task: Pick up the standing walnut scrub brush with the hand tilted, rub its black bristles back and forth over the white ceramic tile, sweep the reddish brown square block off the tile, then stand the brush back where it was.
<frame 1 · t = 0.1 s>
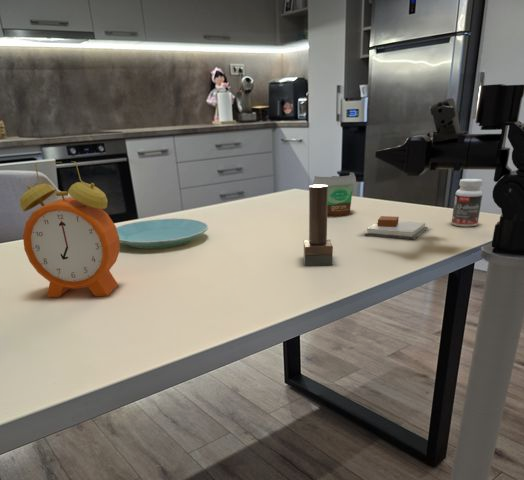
hand: (383, 151, 91), 18 cm above the table, tool horizontal, fingers open, 9 cm apart
pill bottle: (464, 225, 112), on the table
tile: (396, 232, 107), on the table
alarm clock: (83, 292, 79), on the table
plate: (160, 241, 109), on the table
food container: (338, 215, 128), on the table
reddish brown square block: (387, 224, 108), point 1 cm above the table, touching tile
brush: (317, 261, 89), on the table
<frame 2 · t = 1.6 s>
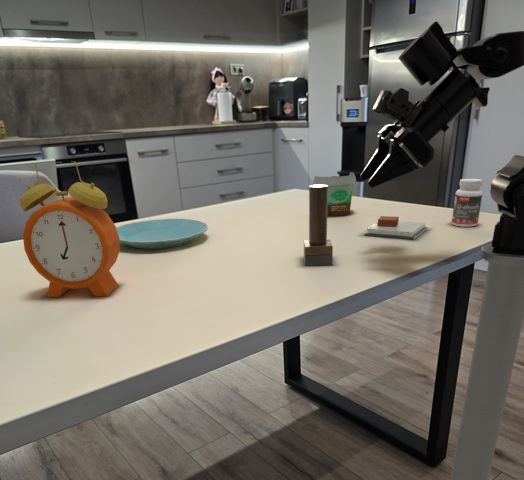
hand: (365, 181, 83), 14 cm above the table, tool tilted 45°, fingers open, 9 cm apart
nothing on the table moved.
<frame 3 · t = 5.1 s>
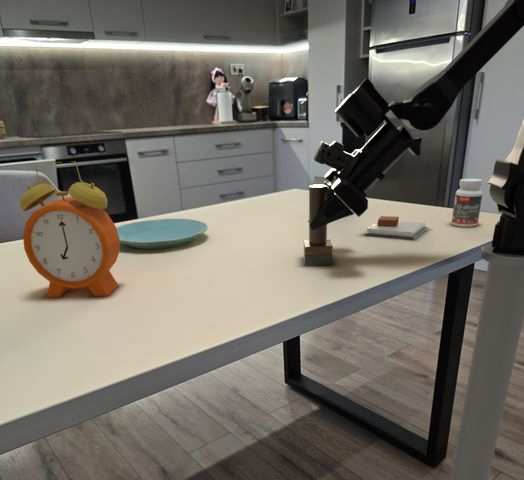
hand: (310, 225, 86), 7 cm above the table, tool tilted 45°, fingers closed on brush, 3 cm apart
brush: (317, 261, 89), on the table, touching gripper
everything else where it was.
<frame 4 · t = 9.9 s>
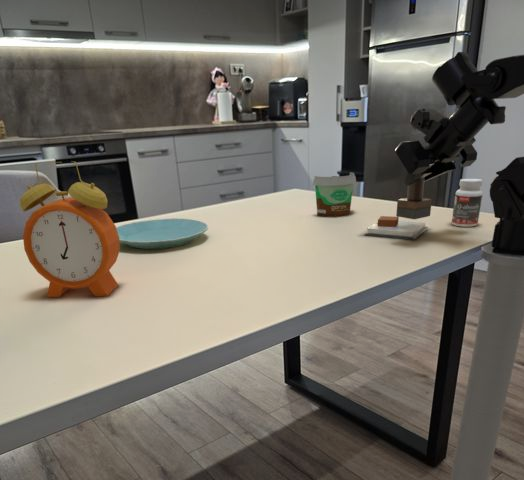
hand: (411, 183, 101), 11 cm above the table, tool tilted 45°, fingers closed on brush, 3 cm apart
brush: (413, 216, 103), point 4 cm above the table, touching gripper
everything else where it was.
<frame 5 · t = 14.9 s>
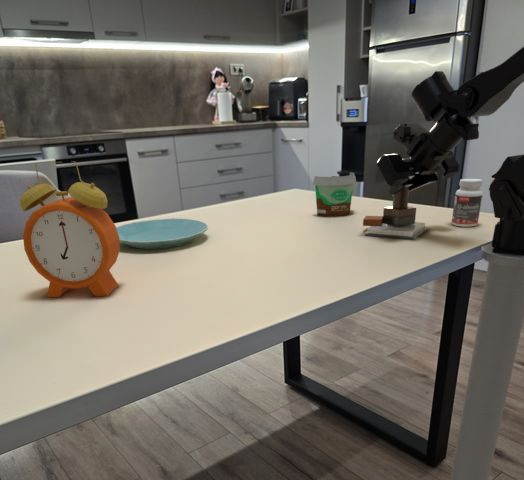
hand: (396, 192, 106), 8 cm above the table, tool tilted 45°, fingers closed on brush, 3 cm apart
reddish brown square block: (373, 224, 109), point 2 cm above the table, touching tile
brush: (398, 223, 108), point 2 cm above the table, touching gripper
everything else where it was.
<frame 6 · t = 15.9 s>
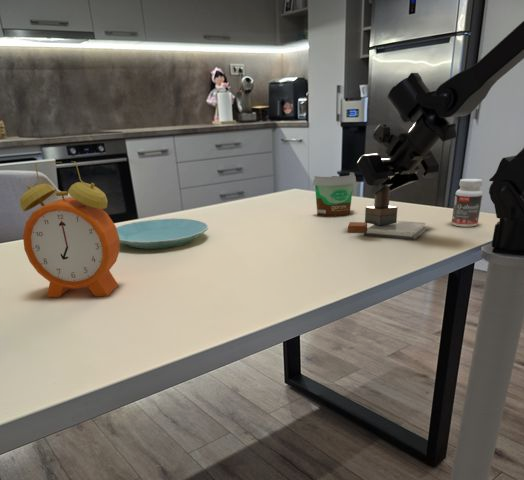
hand: (378, 192, 108), 8 cm above the table, tool tilted 45°, fingers closed on brush, 3 cm apart
reddish brown square block: (357, 230, 110), on the table
brush: (380, 222, 109), point 2 cm above the table, touching gripper
everything else where it was.
when the fingers open (6 cm above the table, at t = 24.1 s): brush stays where it is, on the table.
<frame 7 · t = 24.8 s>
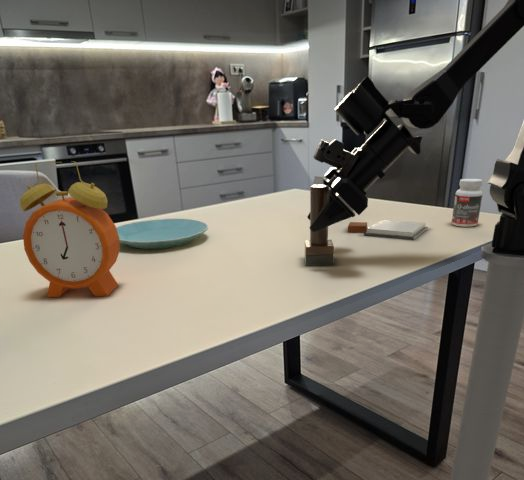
hand: (310, 224, 86), 7 cm above the table, tool tilted 45°, fingers open, 9 cm apart
brush: (318, 261, 89), on the table
everything else where it was.
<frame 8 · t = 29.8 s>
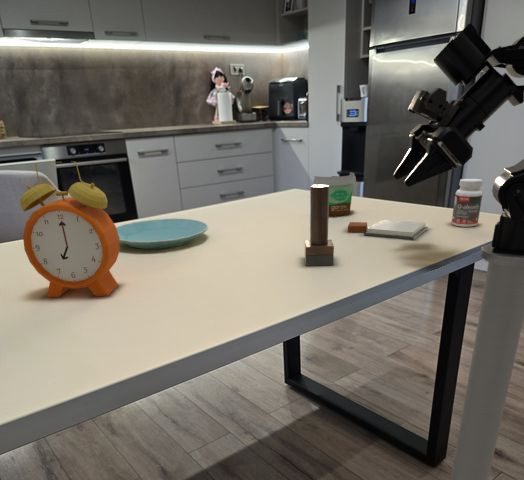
hand: (400, 181, 84), 14 cm above the table, tool tilted 45°, fingers open, 9 cm apart
nothing on the table moved.
at the end: reddish brown square block on the table; brush tilted 0°; the gripper is holding nothing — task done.
